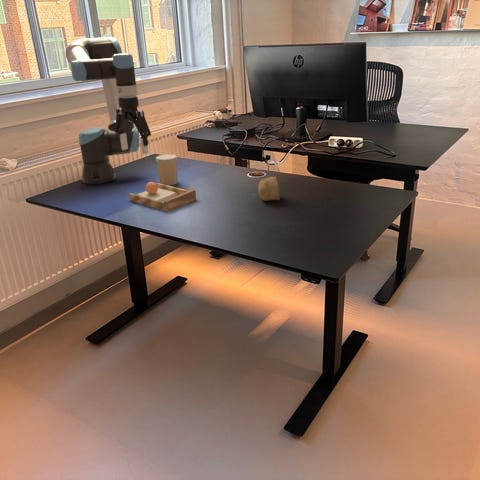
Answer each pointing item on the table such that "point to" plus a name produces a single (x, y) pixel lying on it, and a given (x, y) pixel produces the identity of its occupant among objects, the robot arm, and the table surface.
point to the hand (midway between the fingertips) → (135, 151)
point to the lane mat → (159, 194)
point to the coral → (269, 189)
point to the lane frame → (168, 204)
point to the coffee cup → (167, 169)
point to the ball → (151, 188)
